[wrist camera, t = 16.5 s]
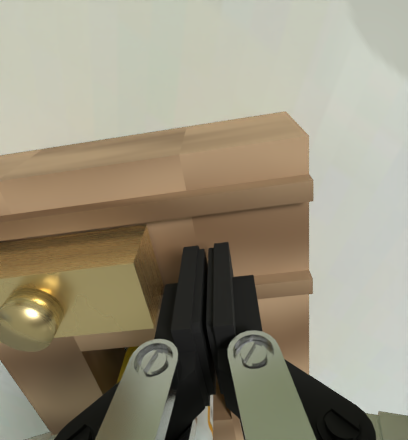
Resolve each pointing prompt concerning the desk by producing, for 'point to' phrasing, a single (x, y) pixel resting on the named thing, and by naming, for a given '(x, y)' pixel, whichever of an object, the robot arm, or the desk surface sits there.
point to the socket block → (167, 236)
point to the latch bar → (77, 286)
